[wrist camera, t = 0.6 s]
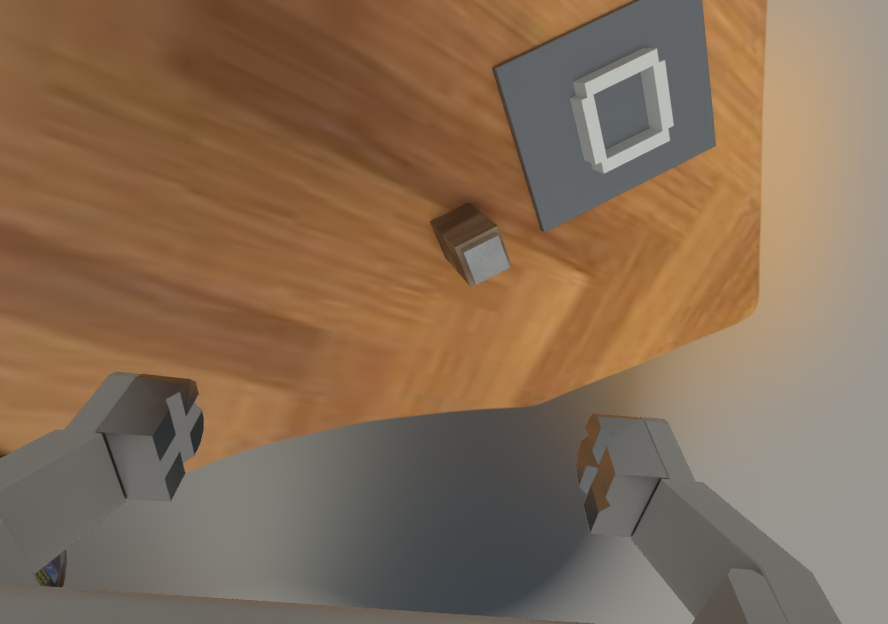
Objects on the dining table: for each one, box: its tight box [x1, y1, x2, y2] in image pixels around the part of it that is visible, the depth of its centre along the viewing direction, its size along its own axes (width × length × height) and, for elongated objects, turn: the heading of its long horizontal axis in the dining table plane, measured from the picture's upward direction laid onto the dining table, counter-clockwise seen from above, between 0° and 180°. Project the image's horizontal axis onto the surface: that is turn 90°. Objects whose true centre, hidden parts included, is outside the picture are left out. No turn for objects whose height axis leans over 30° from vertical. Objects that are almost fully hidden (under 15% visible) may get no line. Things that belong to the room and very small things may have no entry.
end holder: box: [492, 0, 716, 232], centre depth 49 cm, size 16×20×3 cm
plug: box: [430, 203, 511, 287], centre depth 48 cm, size 4×4×8 cm
